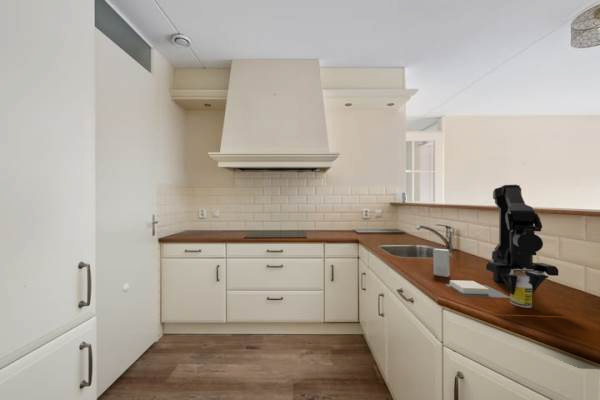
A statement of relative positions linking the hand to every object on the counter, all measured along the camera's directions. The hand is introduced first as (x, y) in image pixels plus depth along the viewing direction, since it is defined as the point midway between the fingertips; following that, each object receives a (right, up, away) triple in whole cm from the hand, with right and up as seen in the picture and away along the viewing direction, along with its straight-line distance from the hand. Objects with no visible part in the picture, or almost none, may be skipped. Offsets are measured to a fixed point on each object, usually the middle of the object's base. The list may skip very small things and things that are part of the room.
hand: (520, 294), depth 82 cm
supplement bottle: (0, -4, 0) cm, 4 cm away
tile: (-4, -2, +12) cm, 13 cm away
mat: (-6, -4, +12) cm, 14 cm away
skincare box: (-8, -4, +33) cm, 34 cm away
